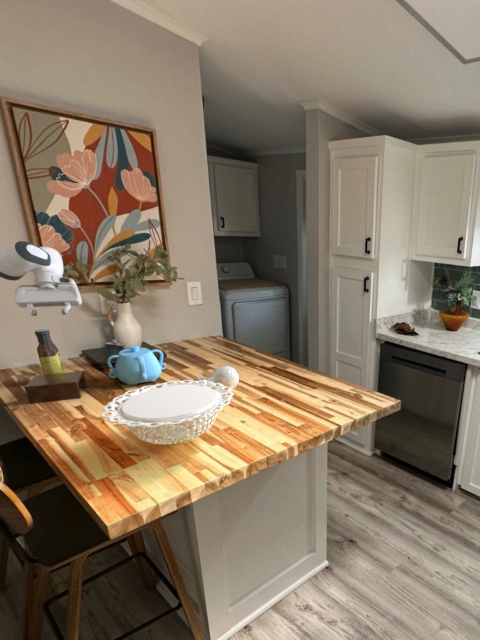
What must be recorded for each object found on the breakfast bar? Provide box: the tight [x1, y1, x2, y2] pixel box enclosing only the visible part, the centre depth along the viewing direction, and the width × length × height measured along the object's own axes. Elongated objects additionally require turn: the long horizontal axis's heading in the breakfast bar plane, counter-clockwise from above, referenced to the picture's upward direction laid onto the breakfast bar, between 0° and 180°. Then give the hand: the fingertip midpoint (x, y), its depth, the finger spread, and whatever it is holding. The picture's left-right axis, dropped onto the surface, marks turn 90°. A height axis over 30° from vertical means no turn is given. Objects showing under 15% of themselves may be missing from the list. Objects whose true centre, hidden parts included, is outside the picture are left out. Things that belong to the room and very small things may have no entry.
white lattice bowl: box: [100, 379, 235, 446], centre depth 113 cm, size 32×32×13 cm
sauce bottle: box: [34, 328, 66, 375], centre depth 150 cm, size 6×6×20 cm
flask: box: [104, 338, 126, 359], centre depth 173 cm, size 9×3×11 cm, turn 74°
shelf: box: [23, 370, 88, 405], centre depth 142 cm, size 14×12×6 cm
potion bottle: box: [193, 365, 240, 391], centre depth 149 cm, size 9×10×15 cm
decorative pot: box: [106, 345, 167, 386], centre depth 156 cm, size 16×16×14 cm
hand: (49, 314), depth 156 cm, fingers open, 8 cm apart
